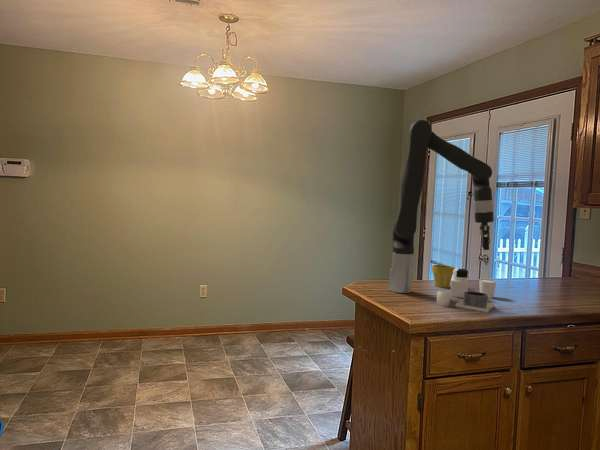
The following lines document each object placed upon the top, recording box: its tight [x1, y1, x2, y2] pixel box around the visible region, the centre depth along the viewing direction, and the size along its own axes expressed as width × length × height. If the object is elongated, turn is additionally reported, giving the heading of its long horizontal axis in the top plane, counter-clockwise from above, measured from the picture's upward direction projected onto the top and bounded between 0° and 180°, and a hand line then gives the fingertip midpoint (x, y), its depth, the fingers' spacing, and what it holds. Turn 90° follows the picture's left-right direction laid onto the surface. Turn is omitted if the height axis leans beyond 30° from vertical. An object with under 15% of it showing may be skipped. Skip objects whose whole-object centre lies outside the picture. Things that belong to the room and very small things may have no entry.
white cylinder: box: [478, 279, 497, 299], centre depth 201 cm, size 7×7×7 cm
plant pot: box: [431, 264, 455, 288], centre depth 220 cm, size 10×10×10 cm
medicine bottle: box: [449, 268, 470, 299], centre depth 199 cm, size 7×7×12 cm
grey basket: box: [455, 290, 495, 313], centre depth 181 cm, size 12×12×5 cm
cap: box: [436, 290, 451, 307], centre depth 182 cm, size 5×5×5 cm
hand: (485, 248), depth 196 cm, fingers open, 8 cm apart
